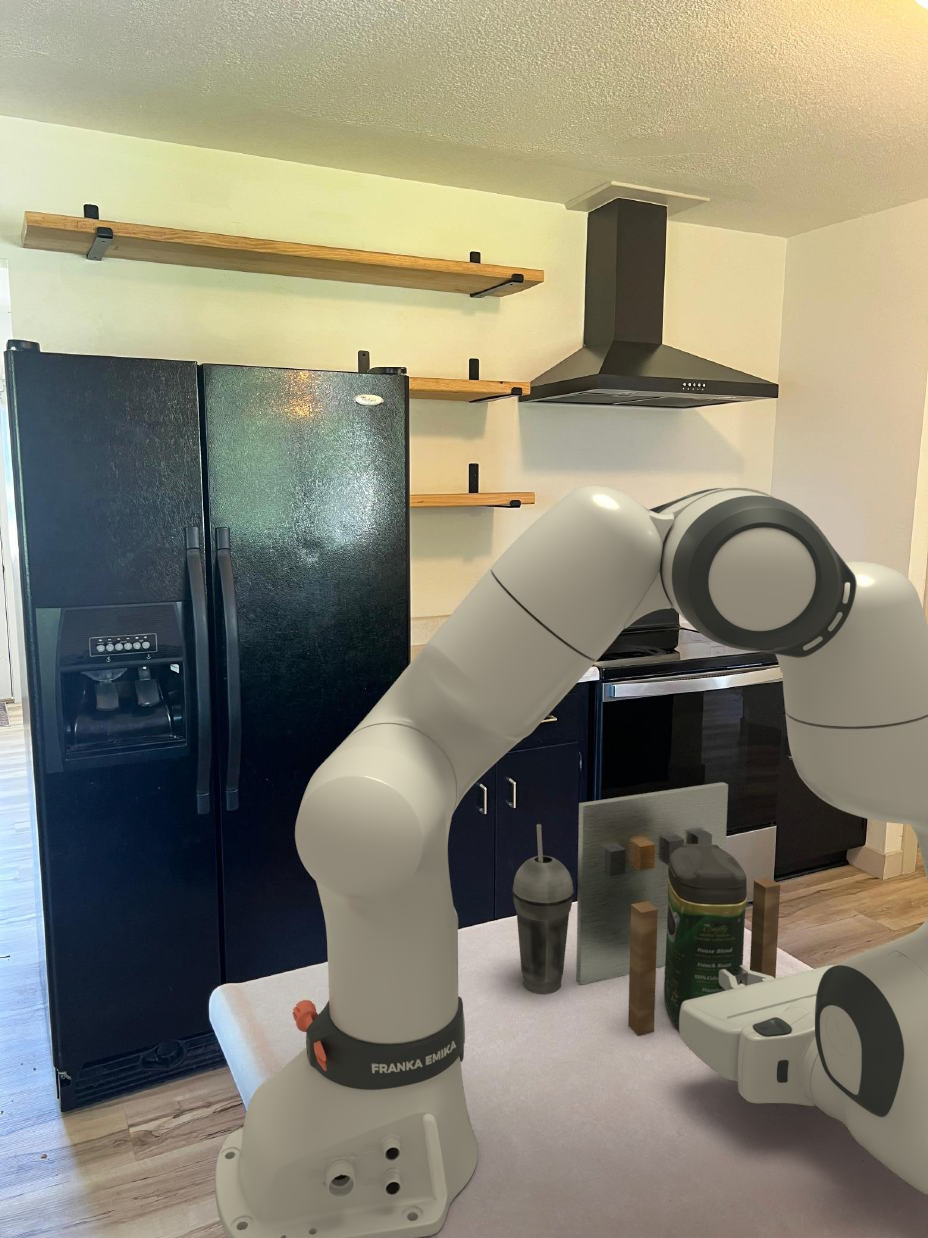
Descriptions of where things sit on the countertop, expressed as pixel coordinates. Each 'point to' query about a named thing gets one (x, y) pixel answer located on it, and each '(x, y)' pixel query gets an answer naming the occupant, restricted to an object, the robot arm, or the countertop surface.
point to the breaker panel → (635, 867)
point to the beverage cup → (542, 919)
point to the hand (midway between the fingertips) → (729, 973)
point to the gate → (646, 948)
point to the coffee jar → (702, 922)
